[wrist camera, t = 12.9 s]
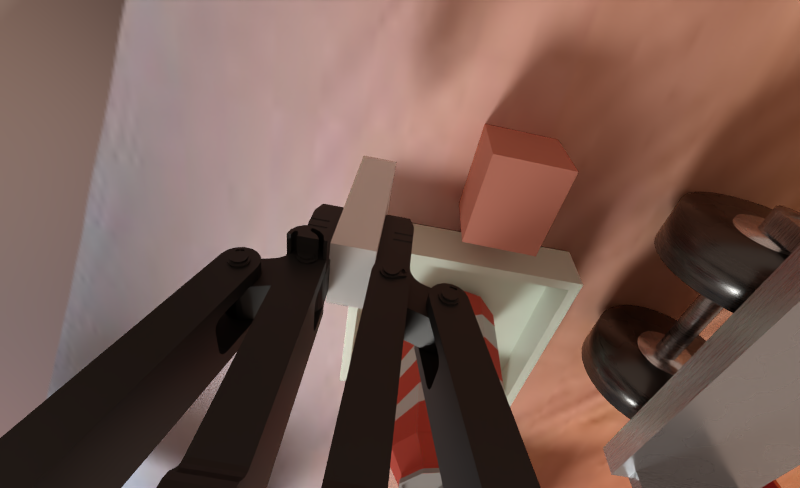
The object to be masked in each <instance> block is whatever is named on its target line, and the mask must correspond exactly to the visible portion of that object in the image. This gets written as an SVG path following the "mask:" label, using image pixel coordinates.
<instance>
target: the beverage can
mask: <svg viewBox="0 0 800 488" xmlns="http://www.w3.org/2000/svg"><path fill="white" fill-rule="evenodd" d="M464 292H465V293H466V295H467V296H468V298H469V300H470V303H471V306H472V308H473V311H474V314H475V316H476V319H477V322H478V324H479V327H480V329H481V332H482V335H483V337H484V340H485V343H486V345H487V348H488V351H489V353H490V356H491V358H492V361H493V364H494V366H495V369H496V372H497V374H498V377H499V380H500V382H501V385H502V387H503V380H502V373H501V367H500V360H499V353H498V346H497V339H496V332H495V325H494V318H493V314H492V313H491V311H490V310H489V308H488V307H487V306H486V304H485V303H484V301H483V300H482V298H481V297H480V296H477V295H474V294H472V293H469V292H466V291H464ZM503 390H504V387H503ZM390 467H391V469H392V472H393V474H394V476H395V479H396V481H397V483H398V486H399V488H443V485H442V480H441V475H440V470H439V466H438V461H437V456H436V451H435V446H434V442H433V437H432V432H431V427H430V422H429V417H428V413H427V408H426V403H425V398H424V393H423V389H422V384H421V379H420V374H419V369H418V364H417V360H416V355H415V350H414V345H413V344H411V343H409V342H407V341H405V340H404V341H403V350H402V360H401V369H400V378H399V388H398V397H397V406H396V416H395V425H394V434H393V444H392V453H391V462H390Z"/></svg>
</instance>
